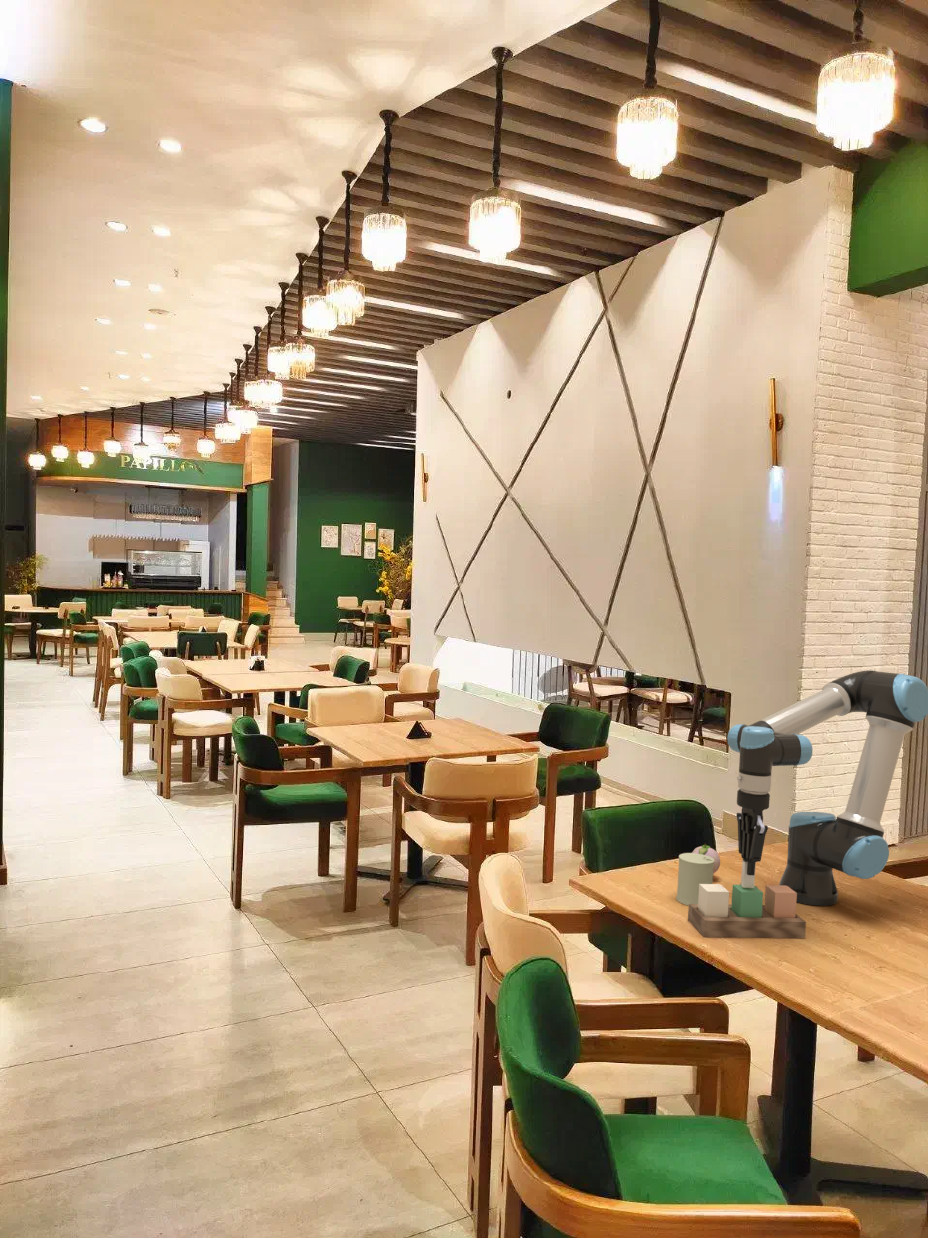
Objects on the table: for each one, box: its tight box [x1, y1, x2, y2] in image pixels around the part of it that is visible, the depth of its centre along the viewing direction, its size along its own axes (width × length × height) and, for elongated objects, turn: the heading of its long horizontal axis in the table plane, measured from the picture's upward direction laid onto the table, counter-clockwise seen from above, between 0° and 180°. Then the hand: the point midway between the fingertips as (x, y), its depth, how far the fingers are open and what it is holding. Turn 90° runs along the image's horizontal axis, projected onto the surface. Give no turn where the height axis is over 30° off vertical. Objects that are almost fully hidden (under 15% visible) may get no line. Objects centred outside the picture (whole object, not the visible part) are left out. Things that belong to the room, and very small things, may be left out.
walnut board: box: [687, 904, 807, 939], centre depth 216 cm, size 25×11×4 cm, turn 95°
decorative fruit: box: [691, 843, 721, 875], centre depth 254 cm, size 9×8×10 cm
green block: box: [730, 884, 764, 918], centre depth 215 cm, size 5×5×7 cm
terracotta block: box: [764, 884, 797, 918], centre depth 216 cm, size 5×5×7 cm
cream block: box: [698, 883, 730, 917], centre depth 215 cm, size 5×5×7 cm
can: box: [675, 852, 714, 907], centre depth 234 cm, size 9×9×12 cm
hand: (747, 886), depth 215 cm, fingers closed
